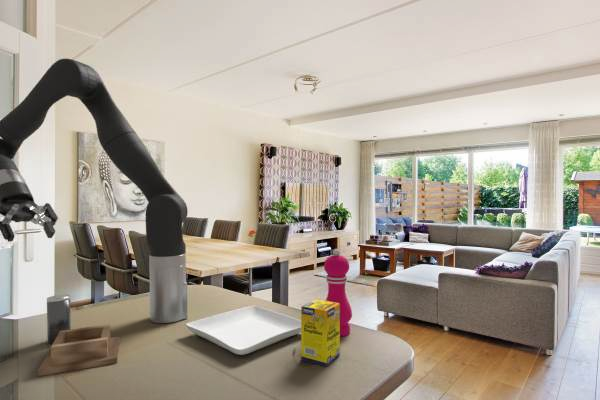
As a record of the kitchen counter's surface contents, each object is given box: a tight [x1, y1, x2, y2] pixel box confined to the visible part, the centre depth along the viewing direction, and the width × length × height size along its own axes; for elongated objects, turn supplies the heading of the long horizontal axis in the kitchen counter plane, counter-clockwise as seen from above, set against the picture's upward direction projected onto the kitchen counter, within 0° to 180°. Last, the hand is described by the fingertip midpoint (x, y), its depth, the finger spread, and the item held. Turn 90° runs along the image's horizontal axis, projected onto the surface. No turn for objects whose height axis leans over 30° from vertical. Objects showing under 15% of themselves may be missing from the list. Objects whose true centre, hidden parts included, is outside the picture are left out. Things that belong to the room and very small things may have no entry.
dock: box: [37, 323, 120, 377], centre depth 76 cm, size 13×12×4 cm
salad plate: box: [185, 305, 301, 356], centre depth 87 cm, size 21×21×3 cm
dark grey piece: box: [46, 294, 72, 346], centre depth 84 cm, size 4×4×10 cm
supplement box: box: [300, 298, 341, 367], centre depth 75 cm, size 6×6×11 cm
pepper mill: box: [323, 248, 353, 338], centre depth 89 cm, size 7×7×20 cm
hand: (32, 237), depth 90 cm, fingers open, 8 cm apart
